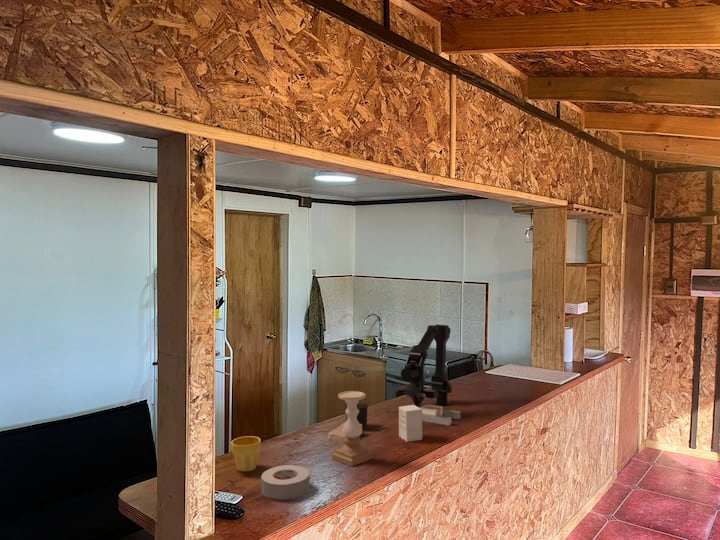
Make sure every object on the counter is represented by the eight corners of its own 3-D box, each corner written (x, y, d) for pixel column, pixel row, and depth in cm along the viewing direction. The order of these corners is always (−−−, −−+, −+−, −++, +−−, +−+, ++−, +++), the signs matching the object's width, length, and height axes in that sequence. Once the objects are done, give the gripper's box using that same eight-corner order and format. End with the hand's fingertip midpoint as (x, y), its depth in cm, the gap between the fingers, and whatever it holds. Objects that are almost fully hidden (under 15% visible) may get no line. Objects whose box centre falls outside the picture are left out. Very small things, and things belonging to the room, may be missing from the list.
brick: (345, 447, 215) (345, 435, 215) (326, 444, 218) (326, 432, 218) (363, 434, 230) (363, 423, 230) (345, 432, 233) (345, 421, 233)
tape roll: (275, 504, 166) (275, 488, 165) (253, 487, 178) (253, 472, 178) (318, 491, 175) (318, 476, 174) (295, 476, 187) (294, 461, 187)
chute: (424, 412, 260) (424, 406, 260) (460, 418, 251) (460, 411, 251) (412, 419, 250) (412, 412, 250) (449, 425, 240) (449, 418, 240)
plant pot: (225, 468, 194) (225, 440, 193) (250, 460, 201) (250, 433, 201) (241, 476, 186) (241, 447, 186) (267, 468, 194) (266, 440, 193)
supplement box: (414, 434, 229) (414, 404, 228) (422, 440, 222) (422, 409, 221) (398, 436, 226) (398, 406, 226) (406, 442, 219) (406, 411, 219)
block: (426, 414, 257) (426, 404, 257) (442, 417, 253) (442, 406, 253) (419, 419, 250) (419, 408, 250) (435, 422, 246) (435, 411, 246)
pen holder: (353, 432, 231) (353, 409, 231) (341, 427, 239) (341, 404, 239) (371, 428, 236) (371, 405, 236) (359, 423, 244) (359, 400, 244)
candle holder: (373, 458, 202) (373, 394, 201) (351, 466, 194) (351, 399, 194) (352, 451, 210) (352, 389, 209) (331, 458, 202) (330, 394, 201)
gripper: (391, 377, 253) (391, 411, 254) (428, 382, 243) (428, 417, 244) (402, 373, 262) (403, 405, 263) (438, 377, 252) (439, 411, 253)
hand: (417, 410), depth 255 cm, fingers closed
